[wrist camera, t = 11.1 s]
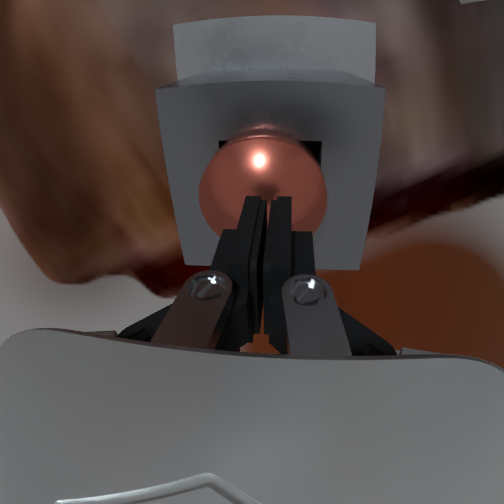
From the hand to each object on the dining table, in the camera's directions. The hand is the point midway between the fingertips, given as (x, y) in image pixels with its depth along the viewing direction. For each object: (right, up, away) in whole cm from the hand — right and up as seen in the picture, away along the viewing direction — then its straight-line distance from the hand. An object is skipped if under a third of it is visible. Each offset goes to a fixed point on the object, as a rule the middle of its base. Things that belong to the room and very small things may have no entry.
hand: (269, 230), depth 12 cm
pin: (+1, +7, +9) cm, 12 cm away
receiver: (+1, +8, +11) cm, 14 cm away
